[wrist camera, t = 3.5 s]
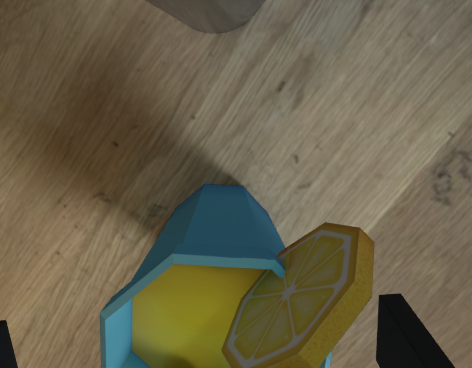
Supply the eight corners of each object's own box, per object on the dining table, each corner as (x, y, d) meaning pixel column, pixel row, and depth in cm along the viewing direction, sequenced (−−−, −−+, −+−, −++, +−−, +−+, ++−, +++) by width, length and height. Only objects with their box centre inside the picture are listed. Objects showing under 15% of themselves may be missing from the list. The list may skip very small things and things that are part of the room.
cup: (221, 362, 26) (213, 741, 12) (100, 313, 25) (-70, 668, 11) (339, 161, 23) (533, 356, 8) (204, 94, 21) (159, 184, 7)
